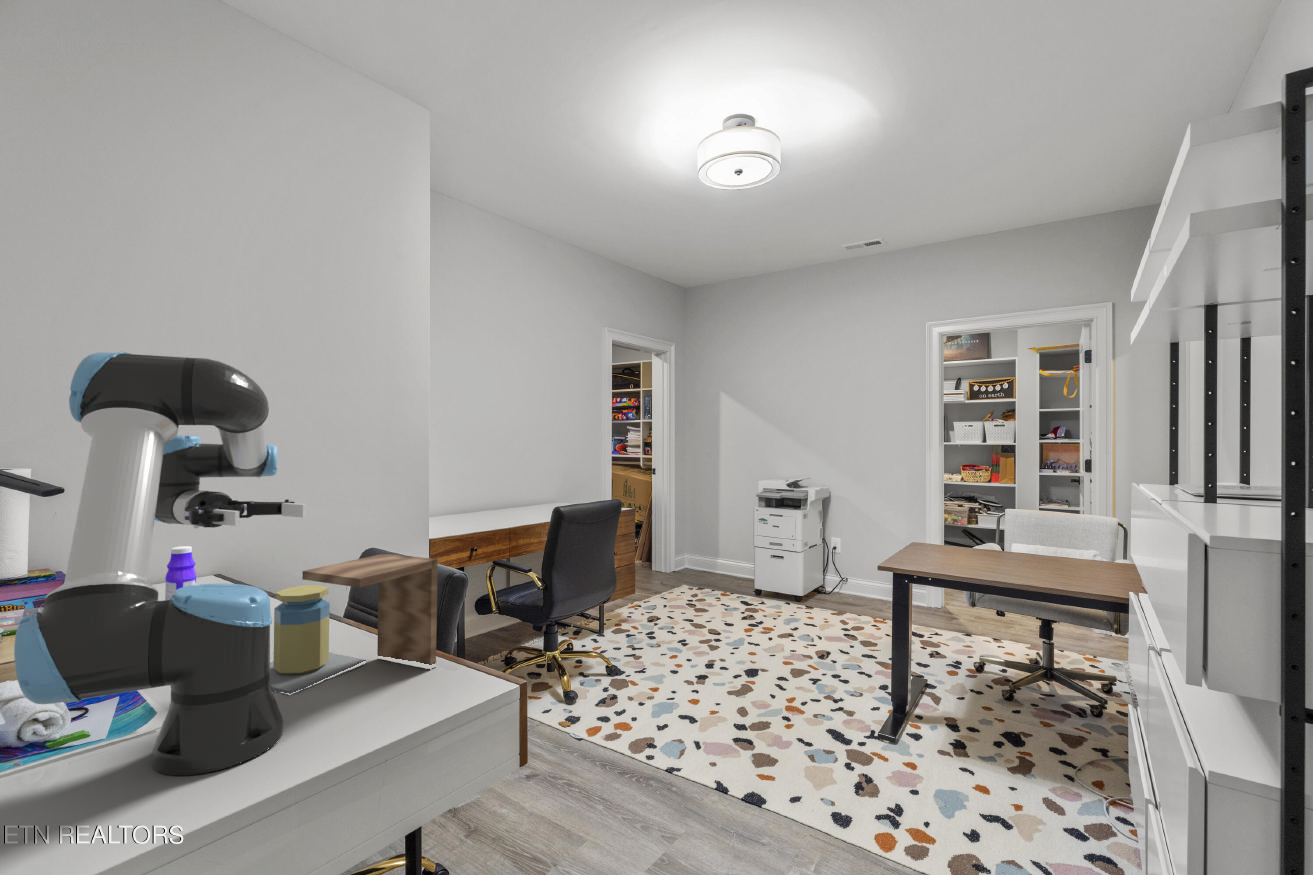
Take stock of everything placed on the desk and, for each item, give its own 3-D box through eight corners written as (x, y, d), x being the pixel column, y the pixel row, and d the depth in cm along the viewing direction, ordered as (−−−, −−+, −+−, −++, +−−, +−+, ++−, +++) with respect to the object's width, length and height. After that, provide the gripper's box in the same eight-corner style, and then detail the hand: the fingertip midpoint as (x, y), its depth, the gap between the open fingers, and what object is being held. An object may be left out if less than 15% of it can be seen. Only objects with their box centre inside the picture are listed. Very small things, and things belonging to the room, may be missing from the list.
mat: (366, 663, 117) (366, 659, 117) (289, 695, 103) (289, 691, 103) (310, 652, 123) (310, 648, 123) (230, 680, 109) (230, 676, 109)
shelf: (435, 667, 116) (437, 559, 116) (357, 705, 99) (359, 578, 99) (383, 656, 121) (384, 553, 122) (300, 691, 104) (302, 571, 105)
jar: (298, 680, 107) (299, 598, 107) (261, 673, 110) (262, 593, 110) (339, 662, 116) (340, 586, 116) (304, 656, 119) (305, 582, 119)
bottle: (200, 615, 148) (201, 547, 148) (172, 621, 143) (173, 550, 143) (188, 611, 152) (189, 544, 152) (160, 616, 147) (161, 547, 147)
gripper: (263, 519, 136) (328, 525, 128) (134, 534, 113) (204, 543, 105) (264, 487, 136) (329, 491, 128) (135, 495, 113) (204, 501, 105)
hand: (272, 514), depth 117 cm, fingers open, 13 cm apart
